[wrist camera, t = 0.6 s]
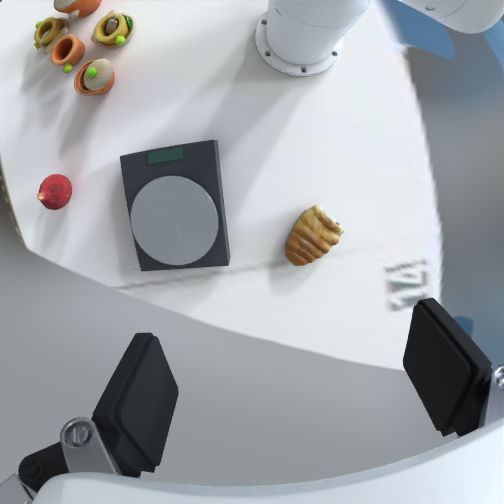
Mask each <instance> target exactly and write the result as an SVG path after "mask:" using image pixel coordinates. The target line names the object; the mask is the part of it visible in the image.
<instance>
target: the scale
mask: <svg viewBox="0 0 504 504" xmlns="http://www.w3.org/2000/svg"><path fill="white" fill-rule="evenodd" d="M120 161H121V168H122V176H123V182H124V189H125V195H126V201H127V206H128V212H129V217H130V223H131V209H132V205H133V202H134V200H135V198H136V196H137V194H138V193H139V192H140V190H141V189H142V188H143V187H144V186H145V185H147V184H148V183H149V182H151V181H153V180H155V179H157V178H160V177H164V176H171V175H174V176H182V177H186V178H189V179H191V180H193V181H195V182H197V183H198V184H200V185H201V186H202V187H203V188H204V189H205V190H206V191H207V192H208V193H209V194H210V196H211V198H212V199H213V201H214V203H215V205H216V208H217V212H218V217H219V227H218V233H217V236H216V239H215V241H214V243H213V245H212V247H211V248H210V250H209V251H208V252H207V253H206V254H205V255H204V256H202V257H201V258H200V259H198V260H196V261H194V262H192V263H189V264H185V265H169V264H165V263H162V262H160V261H157V260H155V259H154V258H152V257H151V256H149V255H148V254H147V253H146V252H145V251H144V250H143V249H142V248H141V247H140V245H139V244H138V242H137V241H136V239H135V236H134V234H133V237H134V242H135V247H136V251H137V255H138V260H139V264H140V268H141V271H153V270H169V269H184V268H199V267H214V266H228V265H229V261H230V252H229V243H228V235H227V227H226V218H225V209H224V200H223V191H222V182H221V173H220V163H219V154H218V144H217V140H209V141H202V142H195V143H188V144H181V145H175V146H169V147H163V148H158V149H152V150H147V151H142V152H137V153H132V154H128V155H123V156H120ZM131 228H132V227H131ZM132 232H133V231H132Z"/></svg>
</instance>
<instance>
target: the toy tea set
mask: <svg viewBox="0 0 504 504" xmlns="http://www.w3.org/2000/svg"><path fill="white" fill-rule="evenodd" d="M101 1H102V0H54V8H55V9H56V10H57V11H59V12H63V13H67V14H70V15H69V17H70V18H72V19H73V18H76V17H77V16H78V17H84V16H87V15H89V14H91V13H92V12H94V11H95V10H96V9H97V8H98V6H99V5H100V3H101ZM67 27H68V23H67V20H66V19H65V18H57V19H56V18H54V17H49V18H47V19H45V20H44V21H43V22H38V23H37V24H36V28H37V30H36V32H35V36H34V39H35V41H36V42H37V43H35V44H34V45H35V47H36V48H37V49H39V48H41V47H43V48H45V50H44V53H45V54H48V53H49V52H50V51H51V50H52V51H51V61H52V63H53V64H55V65H65V67H64V69H63V70H64V72H65V73H69V72H70V71H71V70H72V66H71V65H74V64H76V63H78V62H79V61H80V60H81V59H82V57H83V55H84V53H85V46H84V44H83V43H82V42H81V41H80V40H79V39H77V38H76V37H75V36H74V35H71V34H68V35H66V34H67V32H68V28H67ZM134 30H135V21H134V19H133V18H132V17H131V16H129V15H126V14H124V13H122V12H119V13H116V12H115V11H110V12H109V13H108V14H107V16H105V17H104V18H102V19H101V20H100V21H99V22H98V24H97V25H96V27H95V30H94V34H93V35H92V38H91V40H92V41H93V42H97V41H99V43H100V45H101V46H103V47H104V48H107V49H114V48H118V47H120V46H122V45H123V44H125V43H126V42H127V41H128V40H129V39H130V38H131V36H132V35H133V33H134ZM52 48H53V49H52ZM113 83H114V73H113V67H112V64H111V63H110V61H108V60H107V59H98V60H95V59H94V60H89V61H87V62H86V63H84V64H83V65H82V66H81V67H80V68H79V70H78V71H77V73H76V76H75V80H74V86H75V89H76V91H77V92H78V93H79V94H80V95H84V96H86V95H100V94H104V93H106V92H107V91H108V90H109V89H110V88H111V87H112V85H113Z"/></svg>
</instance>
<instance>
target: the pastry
mask: <svg viewBox="0 0 504 504" xmlns="http://www.w3.org/2000/svg"><path fill="white" fill-rule="evenodd" d="M343 231H344V229H343V227H342V226H341V225H340V224H338V223H337V221H336V220H335V219H334V218H332V217H331V216H330V215H328V214H327V212H326V210H325V209H324V208H322V207H321V206H318V205H317V206H314V207H312V208H310V209H308V210H307V211H305V212H304V213H303V214H302V215H301V216H300V218H299V219H298V221H297V223H296V224H295V226H294V227H293V230H292V232H291V234H290V236H289V238H288V241H287V243H286V248H285V249H286V257H287V258H288V259H289V260H290V261H291V262H292V263H293V264H294V265H295V266H303V265H306V264H307V263H312V262H314V260H315V259H317V258H320V257H322V255H323V254H326V253H328V251H329V250H330V248H331V247H332V245H336V244H337V243H338V241H339V238H340V235H341V234H342V233H343Z"/></svg>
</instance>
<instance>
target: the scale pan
mask: <svg viewBox="0 0 504 504" xmlns="http://www.w3.org/2000/svg"><path fill="white" fill-rule="evenodd" d="M131 227H132V231H133V234H134V236H135V239H136V241H137V242H138V244H139V245H140V247H141V248H142V249H143V250H144V251H145V252H146V253H147V254H148V255H149V256H151V257H152V258H154V259H155V260H157V261H160V262H162V263H165V264H169V265H185V264H189V263H192V262H194V261H196V260H198V259H200V258H201V257H202V256H204V255H205V254H206V253H207V252H208V251H209V250H210V248H211V247H212V245H213V243H214V241H215V239H216V236H217V233H218V227H219V217H218V212H217V208H216V205H215V203H214V201H213V199H212V198H211V196H210V194H209V193H208V192H207V191H206V190H205V189H204V188H203V187H202V186H201V185H200V184H198V183H197V182H195V181H193V180H191V179H189V178H186V177H182V176H174V175H171V176H164V177H160V178H157V179H155V180H153V181H151V182H149V183H148V184H147V185H145V186H144V187H143V188H142V189H141V190H140V192H139V193H138V194H137V196H136V198H135V200H134V202H133V205H132V209H131Z"/></svg>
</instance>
